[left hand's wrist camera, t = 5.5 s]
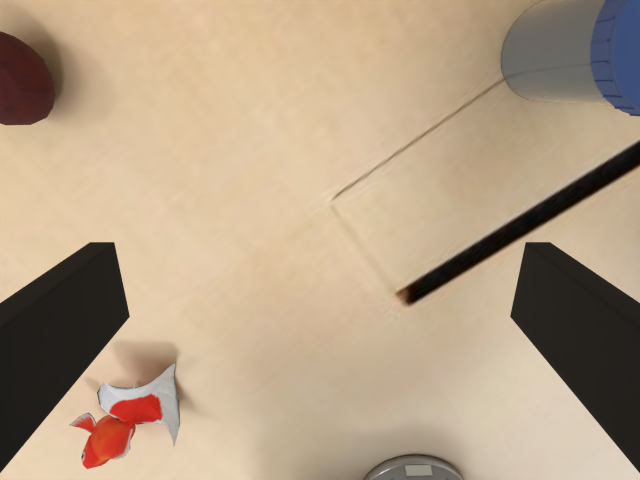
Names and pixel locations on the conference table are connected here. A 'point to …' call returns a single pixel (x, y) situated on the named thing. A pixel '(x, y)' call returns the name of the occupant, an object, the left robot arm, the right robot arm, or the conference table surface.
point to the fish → (129, 417)
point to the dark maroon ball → (23, 83)
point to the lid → (618, 54)
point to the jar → (553, 52)
